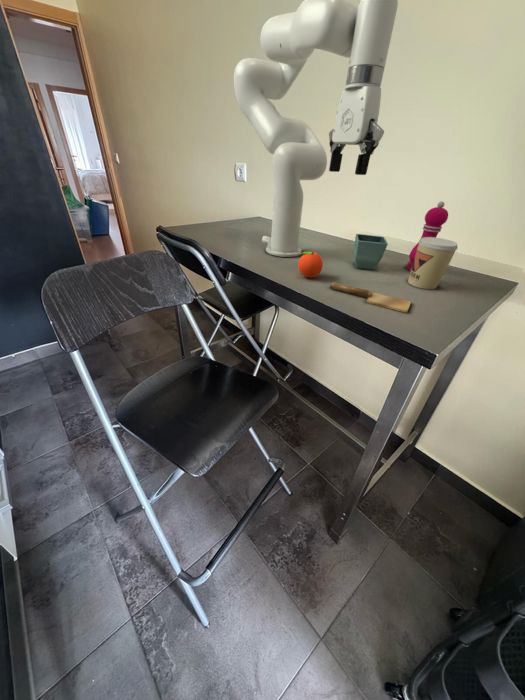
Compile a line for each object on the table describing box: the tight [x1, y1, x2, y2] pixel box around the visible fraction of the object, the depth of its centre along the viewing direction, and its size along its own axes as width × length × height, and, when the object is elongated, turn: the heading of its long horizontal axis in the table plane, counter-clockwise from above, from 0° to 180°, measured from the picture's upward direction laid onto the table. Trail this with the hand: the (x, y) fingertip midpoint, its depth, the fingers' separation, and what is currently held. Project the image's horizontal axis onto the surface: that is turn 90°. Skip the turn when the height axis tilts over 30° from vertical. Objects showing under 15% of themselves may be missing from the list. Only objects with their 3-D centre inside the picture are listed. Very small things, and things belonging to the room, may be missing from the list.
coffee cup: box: [407, 237, 459, 290], centre depth 79 cm, size 9×9×12 cm
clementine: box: [295, 251, 324, 278], centre depth 80 cm, size 8×7×7 cm
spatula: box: [329, 281, 412, 314], centre depth 72 cm, size 20×6×2 cm, turn 59°
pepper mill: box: [406, 200, 449, 272], centre depth 87 cm, size 7×7×20 cm
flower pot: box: [353, 233, 389, 271], centre depth 90 cm, size 9×9×9 cm
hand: (346, 173), depth 72 cm, fingers open, 9 cm apart
